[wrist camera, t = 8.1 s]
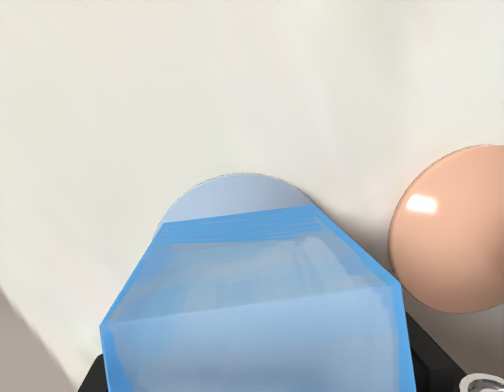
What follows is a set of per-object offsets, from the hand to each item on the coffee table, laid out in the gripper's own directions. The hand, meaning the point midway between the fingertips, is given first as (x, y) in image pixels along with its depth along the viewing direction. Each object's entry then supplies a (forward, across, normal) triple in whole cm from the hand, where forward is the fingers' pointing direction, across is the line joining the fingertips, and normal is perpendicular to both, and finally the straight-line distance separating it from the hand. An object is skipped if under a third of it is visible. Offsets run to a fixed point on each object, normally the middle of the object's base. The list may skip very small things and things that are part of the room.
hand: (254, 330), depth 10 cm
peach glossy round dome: (+6, -12, 0) cm, 13 cm away
